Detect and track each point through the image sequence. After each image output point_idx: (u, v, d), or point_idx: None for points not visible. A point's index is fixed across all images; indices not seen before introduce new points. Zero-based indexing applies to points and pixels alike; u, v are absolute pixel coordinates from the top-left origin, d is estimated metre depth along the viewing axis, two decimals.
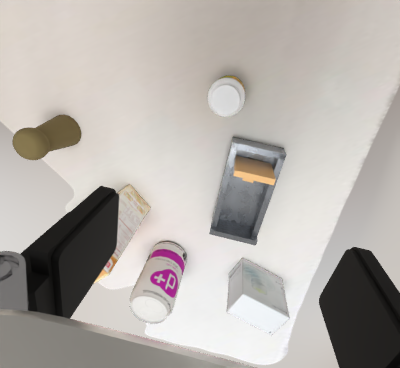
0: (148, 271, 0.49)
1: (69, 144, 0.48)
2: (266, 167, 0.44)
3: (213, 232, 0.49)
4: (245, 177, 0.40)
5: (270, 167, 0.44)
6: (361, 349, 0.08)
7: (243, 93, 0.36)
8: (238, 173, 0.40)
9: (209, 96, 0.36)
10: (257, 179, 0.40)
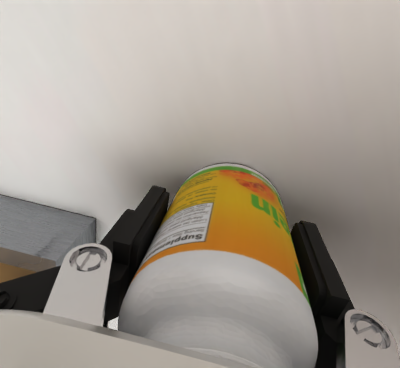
0: None
1: None
2: None
3: None
4: None
5: None
6: None
7: None
8: None
9: (224, 296, 0.05)
10: None
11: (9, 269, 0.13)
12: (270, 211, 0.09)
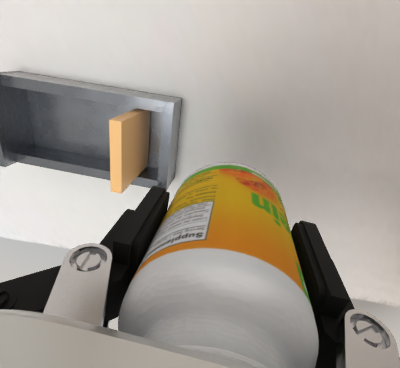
0: None
1: None
2: (140, 164, 0.26)
3: None
4: (112, 143, 0.21)
5: (141, 169, 0.27)
6: None
7: None
8: (116, 129, 0.20)
9: (224, 294, 0.05)
10: (113, 164, 0.22)
11: (142, 119, 0.25)
12: (271, 209, 0.09)
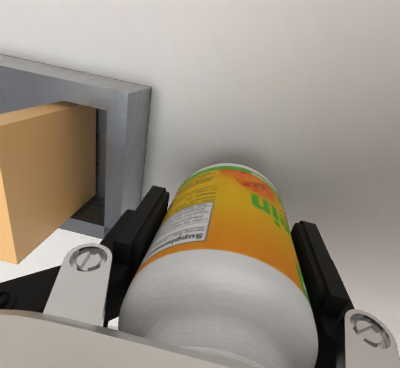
0: None
1: None
2: (74, 197, 0.15)
3: None
4: None
5: (78, 205, 0.16)
6: None
7: None
8: None
9: (224, 295, 0.05)
10: None
11: (75, 121, 0.14)
12: (271, 210, 0.09)
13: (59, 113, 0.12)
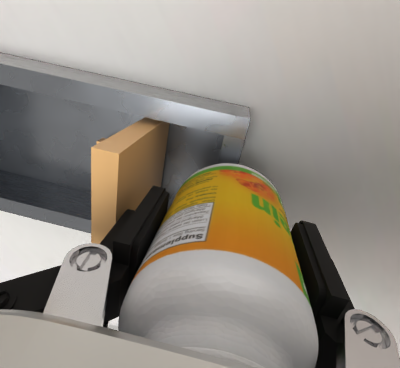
0: None
1: None
2: None
3: None
4: (96, 195, 0.10)
5: None
6: None
7: None
8: (107, 168, 0.09)
9: (224, 295, 0.05)
10: (99, 235, 0.10)
11: (158, 138, 0.14)
12: (271, 211, 0.09)
13: (151, 132, 0.12)
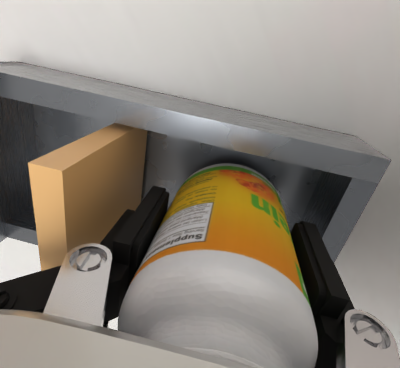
0: None
1: None
2: None
3: None
4: (41, 219, 0.08)
5: None
6: None
7: None
8: (49, 188, 0.07)
9: (223, 296, 0.05)
10: (49, 265, 0.09)
11: (131, 146, 0.12)
12: (270, 211, 0.09)
13: (119, 140, 0.10)
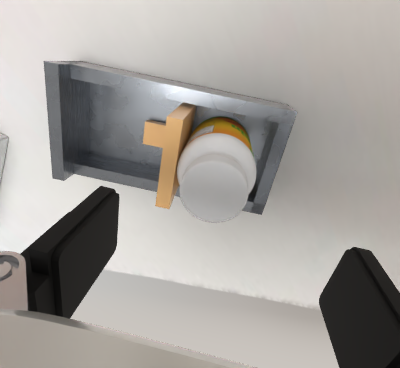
0: None
1: None
2: None
3: (52, 73, 0.18)
4: (166, 146, 0.16)
5: None
6: (361, 349, 0.08)
7: None
8: (174, 129, 0.16)
9: (220, 143, 0.16)
10: (164, 173, 0.17)
11: (191, 117, 0.20)
12: (240, 130, 0.19)
13: (190, 112, 0.19)
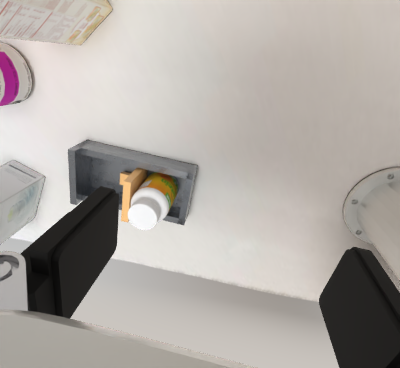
0: None
1: None
2: None
3: (71, 154, 0.37)
4: (124, 193, 0.35)
5: None
6: (361, 348, 0.08)
7: None
8: (127, 186, 0.34)
9: (148, 193, 0.34)
10: (124, 205, 0.36)
11: (143, 173, 0.39)
12: (166, 182, 0.37)
13: (140, 173, 0.37)
